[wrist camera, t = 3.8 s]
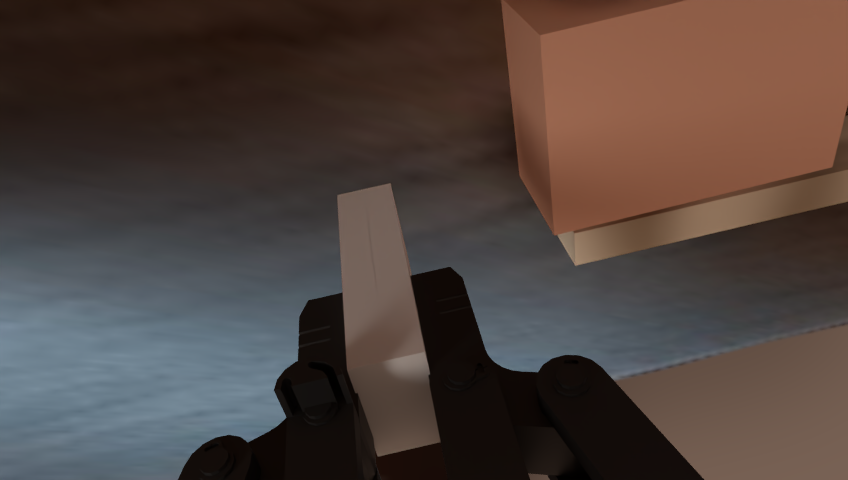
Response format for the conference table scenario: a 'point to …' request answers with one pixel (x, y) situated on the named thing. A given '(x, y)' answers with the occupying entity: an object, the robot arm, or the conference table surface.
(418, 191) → the conference table surface
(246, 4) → the conference table surface
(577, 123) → the block
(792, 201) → the tan piece
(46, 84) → the conference table surface
